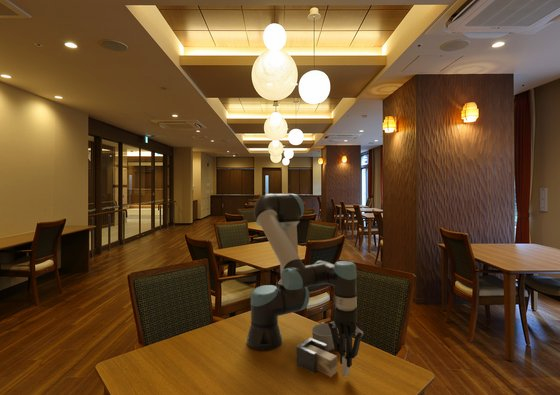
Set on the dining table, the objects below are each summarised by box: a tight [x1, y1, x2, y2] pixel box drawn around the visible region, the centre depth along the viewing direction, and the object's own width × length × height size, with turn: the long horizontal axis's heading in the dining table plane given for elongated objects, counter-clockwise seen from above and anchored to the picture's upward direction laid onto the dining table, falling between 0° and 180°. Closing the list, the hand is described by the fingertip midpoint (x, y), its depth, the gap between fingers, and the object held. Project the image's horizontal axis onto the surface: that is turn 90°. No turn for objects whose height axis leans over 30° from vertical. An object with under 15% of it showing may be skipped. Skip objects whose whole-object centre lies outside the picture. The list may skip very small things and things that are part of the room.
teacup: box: [311, 321, 338, 352], centre depth 126 cm, size 14×11×8 cm
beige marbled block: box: [306, 345, 338, 378], centre depth 110 cm, size 12×4×6 cm, turn 48°
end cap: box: [295, 337, 328, 374], centre depth 113 cm, size 8×9×7 cm
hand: (346, 374), depth 103 cm, fingers closed
